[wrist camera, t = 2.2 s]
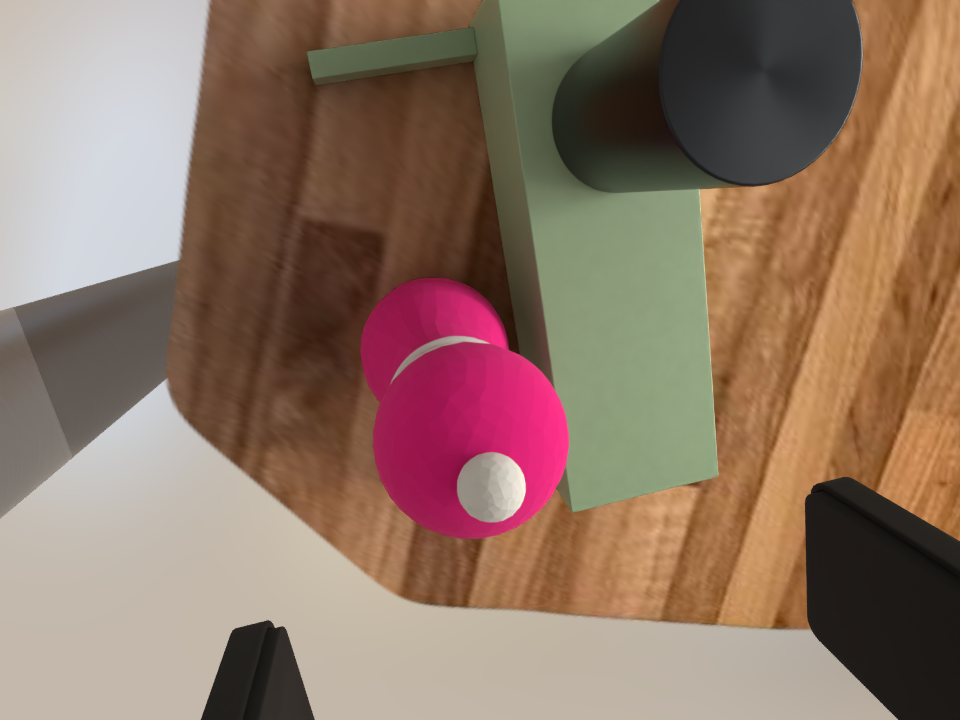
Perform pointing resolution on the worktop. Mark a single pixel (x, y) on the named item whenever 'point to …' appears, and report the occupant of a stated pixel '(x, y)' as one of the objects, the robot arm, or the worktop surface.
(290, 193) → the worktop surface
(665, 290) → the riser
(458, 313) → the pepper mill
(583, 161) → the spice tin
